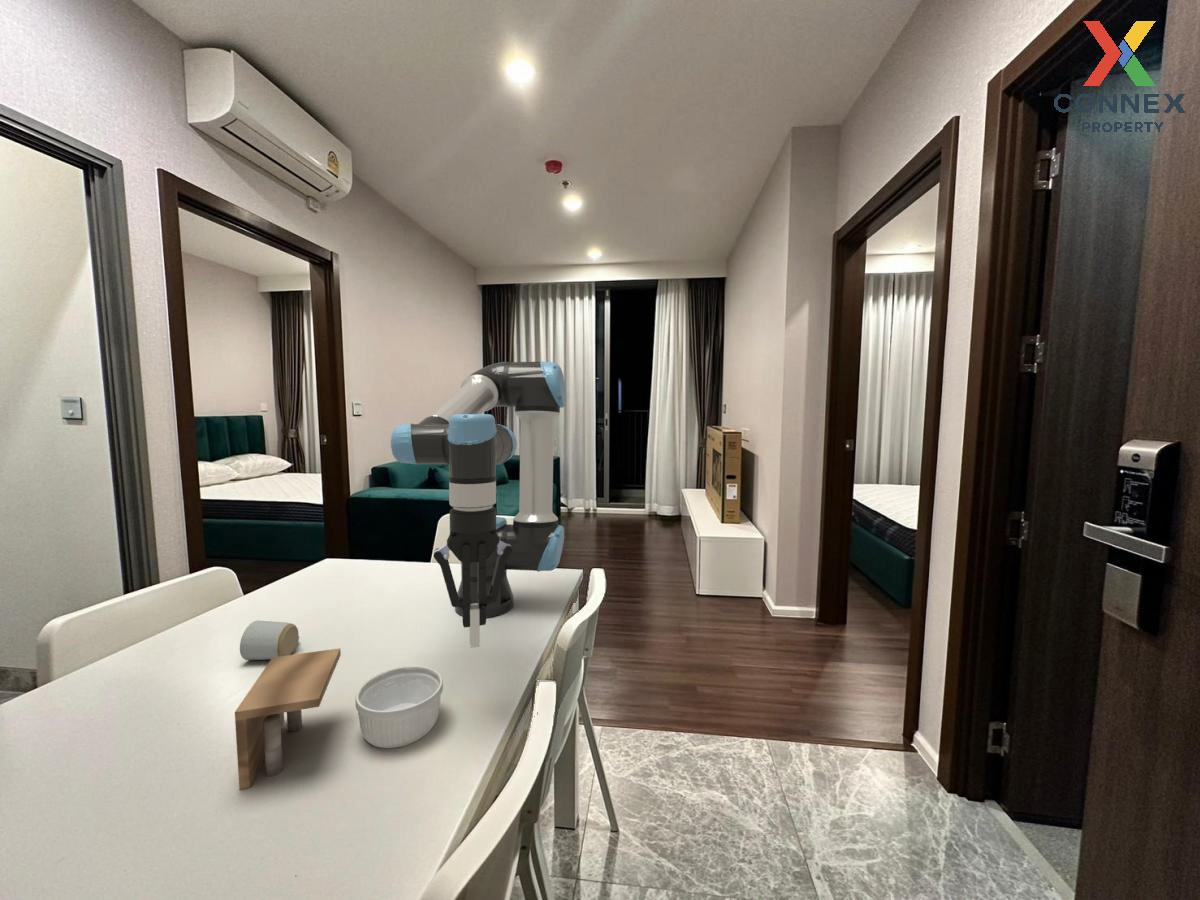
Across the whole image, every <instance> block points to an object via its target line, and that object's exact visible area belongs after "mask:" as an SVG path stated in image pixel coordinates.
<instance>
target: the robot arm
mask: <svg viewBox="0 0 1200 900" xmlns="http://www.w3.org/2000/svg"><path fill="white" fill-rule="evenodd" d="M566 405H567V390H566V383H565V377H564V373H563V370H562V368H561V366H560V365H559V364H558V363H556V362H552V361H551V362H550V361H542V360H541V361H514V362H513V361H501V362H500V361H499V362H497V363H492V364H490V365H486V366H484V367H481V368H480V369H478V370H476V371H475V372H472V373H471V374H470V375H468V376H466V378H465V379H464V380H463V381H462V382H461V385H460V388H459V390H457V391H456V392H455V393H453V394H452V395H451V396H450V397H448V398H447V399H446V400H445V401H444V402H442V403H441V404H440V405H439V406H438V407H437V408H435V409H434V410H433V411H432V412H430V413H429V414H428V415H426V417H425V418H423V419H422V420H421V421H419V423H412V422H410V423H404V424H403V423H402V424H399V425H397V426H396V427H394V429H393V431H392V433H391V438H390V449H391V454H392V456H393V458H394V459H395V460H396V461H397V462H399V463H401V464H411V465H448V469H449V471H448V472H449V473H448V474H449V477H448V484H449V485H448V487H449V488H448V490H449V492H448V495H449V496H448V497H449V498H448V499H449V501H448V502H449V504H448V505H450V507H452V508H451V509H450V510H449V536H448V537H447V539H446V543H445V544H444V545H443V546H441V547H437V548H435V549H434V550H433V558H434V559H435V561H436V562H437V564H438V565H439V566H440V569H441V572H442V577H443V579H444V580H443V581H444V583H445V586H446V587H445V588H446V590H447V594H448V597H449V601H450V604H451V607H453V608H454V610H455V611H454V612H456V613H457V614H458V615H460V616H462V626H463V628H464V629H465V628H469V644H470V645H469V648H470V649H473V648H474V649H475V648H479V647H480V646H481V643H480V639H481V636H480V635H481V634H480V626H486V624H487V618H492V617H496V616H500V615H503V614H505V613H507V612H509V611H510V610H512V609H513V607H514V602H515V601H514V597H515V596H514V593H513V591H512V588H511V585H510V582H509V580H508V579H509V578H508V575H507V570H509V571H510V570H512V571H535V572H538V573H539V572H550V571H554V570H555V569H557V567H558V566H559V563H560V560H561V556H562V553H563V547H564V542H565V541H564V540H565V527H564V526H563V525H561V524H559V518H558V516H557V515H556V514H555V513H554V512H553V497H554V496H553V495H554V494H553V491H554V490H553V487H554V484H553V482H554V435H555V434H554V431H555V430H554V429H555V425H554V424H555V420H556V419H557V418H558V417H559V416H560V414H561V411H560V409H561V408H565V407H566ZM494 407H495V408H497V407H499V408H500V407H505V408H507V407H509V408H510V407H512V408H514V414H515V415H516V416H517V417H518V418H519V420H520V434H519V437H520V440H519V442H520V443H519V447H520V448H519V506H518V507H519V509H518V510H519V511H518V513H517V514H516V515H515V516H514V517H513V519H512V521H513V522H512V524H507V523H508V521H507V519H506V517H501V516H497V508H496V507H495V506H494V505H495V504H497V477H496V476H497V465H500V466H501V464H504V463H506V462H508V461H509V460H510V459H511V458H512V457H513V456H514V454H515V452H516V450H517V445H518V443H517V437H516V435H515V433H514V432H513V431H512V430H511V429H510V428H509V427H507V426H505V425H502V424H499V423H498V424H496V419H495V417H494V415H492V414H490V413H489V414H488V413H486V414H485V413H484V412H488V411H490V410H492V409H493V408H494ZM450 551H451V553H452V554H453V555H454V556H455V557H456V558H457V560H458V561H459V562H460V570H461V574H460V575H461V579H460V580H461V581H460V583H459V587H458V588H457V587H456V584H455V579H454V575H453V573H452V568H451V566H450V562H449V558H450ZM457 589H458V590H457Z"/></svg>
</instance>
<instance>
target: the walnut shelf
mask: <svg viewBox="0 0 1200 900" xmlns="http://www.w3.org/2000/svg"><path fill="white" fill-rule="evenodd" d="M341 655H342V654H341V648H333V649H325V650H317V651H310V652H302V653H295V654H290V655H286V656H279V657H272V659H271V660H269V662H268V663H267V665H266V666H265V668H264V669H263V670H262V672H261V673H260V675H259V676H258V677H257V679H256V680H255V682H254V683H253V685H251V688H250V689H249V691H248V692H247V693H246V695H245V697H244V698H243V700H242V701H241V702H240V704H239V705H238V707H236V710H235V711H234V723H235V724H234V725H235V737H236V740H235V741H236V754H237V757H236V759H237V771H238V772H237V773H238V787H239V788H238V789H239V790H246V789H249V788H251V786H252V785H253V782H254V781H255V779H256V776H257V775H258V773H259V770H260V769H261V767H262V764H263V762H264V763H265V775H266V777H274V776H277V775H278V774H280V773H281V772H282V771H283V769H284V765H283V748H282V731H281V729H282V725H283V724H284V722H285V713H286V721H287V722H286V723H287V724H286V725H287V731H289V732H295V731H298V730H300V729H301V728H302V726H303V716H302V714H303V713H302V710H308V709H314V708H319V707H320V706H321V703H322V701H323V698H324V696H325V693H326V691H327V689H328V686H329V684H330V682H331V679H332V677H333V675H334V672H335V669H336V668H337V665H338V663H339V660H340V658H341Z"/></svg>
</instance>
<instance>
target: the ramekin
mask: <svg viewBox="0 0 1200 900" xmlns="http://www.w3.org/2000/svg"><path fill="white" fill-rule="evenodd" d="M443 681H444V680H443V677H442V675H441V673H439V671H437V670H436V669H434V668H431V667H428V666H423V665H408V666H407V665H405V666H399V667H394V668H391V669H388V670H385V671H383V672H380V673H377V674H376V675H373V676H372V677H370V678H369V679H367V680H366V681H365V682H364V683H363V684H362V685H361V686H360V687H359V688H358V690H357V691H356V694H355V701H354V702H355V704H354V705H355V708H356V711H357V713H358V714H357V715H358V721H359V726H360V730H361V734H362V736H363V738H364V739H365V741H366V742H368V743H369V744H370V745H372V746H374V747H377V748H381V749H396V748H400V747H405V746H408V745H411V744H412V743H415V742H417V741H419V740H420V739H423V737H424V736H427V734H428V733H429V732H430V731H431V730H432V729H433V727H434V725H435V724H436V723H437V720H438V717H439V714H440V706H441V695H442V693H443V690H444V684H443Z"/></svg>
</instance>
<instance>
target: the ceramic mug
mask: <svg viewBox="0 0 1200 900" xmlns="http://www.w3.org/2000/svg"><path fill="white" fill-rule="evenodd" d="M299 640H300V635H299V629H298V627H297V625H296V624H294V623H290V622H286V621H272V620H270V621H268V620H255V621H252V622H251V623H250V624H249V625H248V626H247V627H246V628H245V630H244V631H243V633H242V636H241V638H240V643H239V652H240V653H239V654H240V656H241V658H242V659H243V660H246V661H262V660H264V661H265V660H268V661H270V660H271V659H272V657H279V656H286V655H292V654H293V652H294V651H295V649H296V647H297V644H298V643H299Z"/></svg>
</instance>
